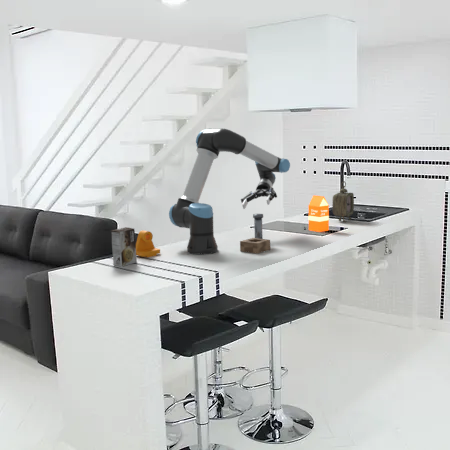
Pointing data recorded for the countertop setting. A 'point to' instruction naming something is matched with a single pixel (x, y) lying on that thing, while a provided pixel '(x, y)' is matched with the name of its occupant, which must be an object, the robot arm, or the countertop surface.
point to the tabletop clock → (343, 203)
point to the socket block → (255, 245)
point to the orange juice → (318, 214)
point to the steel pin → (258, 225)
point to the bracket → (145, 245)
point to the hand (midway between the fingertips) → (255, 204)
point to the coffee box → (123, 246)
